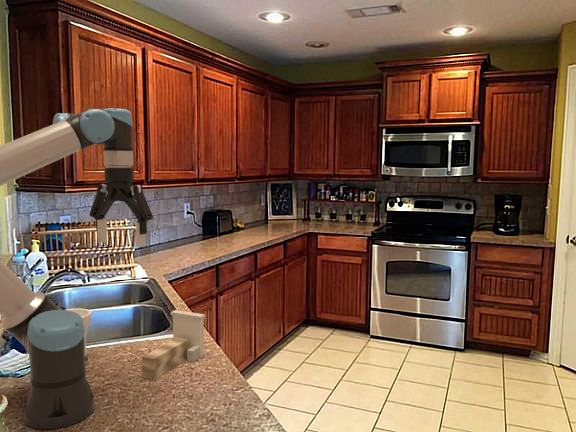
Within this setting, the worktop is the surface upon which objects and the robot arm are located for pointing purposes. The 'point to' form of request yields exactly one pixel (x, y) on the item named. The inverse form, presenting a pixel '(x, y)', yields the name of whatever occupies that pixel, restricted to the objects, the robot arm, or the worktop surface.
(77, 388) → the robot arm
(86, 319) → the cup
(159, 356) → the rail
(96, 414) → the worktop surface
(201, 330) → the headboard
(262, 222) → the worktop surface
